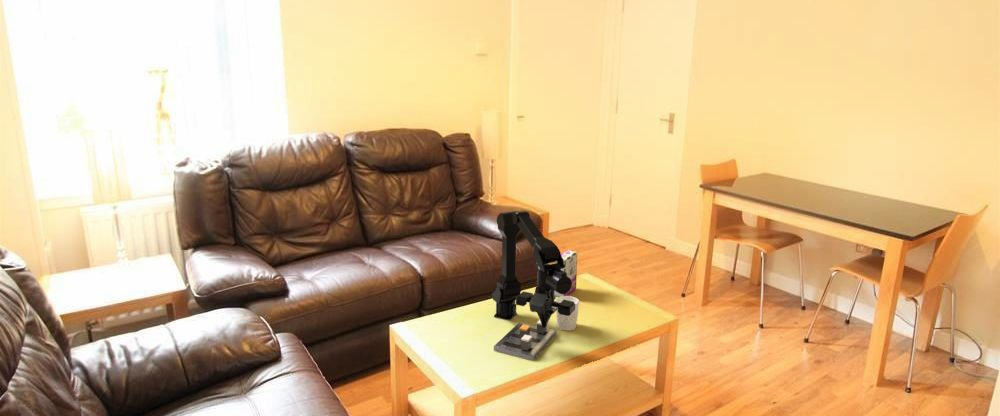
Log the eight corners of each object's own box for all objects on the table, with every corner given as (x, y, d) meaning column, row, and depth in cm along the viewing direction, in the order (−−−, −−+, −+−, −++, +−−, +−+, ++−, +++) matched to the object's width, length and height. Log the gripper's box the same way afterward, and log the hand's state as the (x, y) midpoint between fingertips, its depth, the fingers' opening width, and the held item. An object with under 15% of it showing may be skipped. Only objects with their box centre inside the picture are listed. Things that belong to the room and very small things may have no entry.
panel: (493, 350, 196) (493, 346, 196) (519, 326, 213) (519, 321, 213) (533, 360, 190) (533, 356, 190) (556, 334, 207) (556, 330, 207)
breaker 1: (519, 337, 201) (519, 328, 200) (523, 334, 203) (523, 324, 202) (526, 339, 200) (526, 329, 199) (529, 335, 202) (530, 325, 201)
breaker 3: (536, 332, 205) (536, 322, 204) (540, 328, 207) (540, 318, 207) (543, 333, 204) (543, 324, 203) (546, 330, 206) (547, 320, 205)
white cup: (576, 332, 209) (578, 306, 206) (554, 330, 211) (555, 303, 208) (578, 322, 216) (579, 297, 214) (556, 320, 218) (557, 294, 215)
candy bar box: (565, 287, 248) (567, 249, 244) (576, 289, 246) (578, 251, 242) (552, 296, 239) (554, 257, 235) (564, 299, 237) (565, 259, 232)
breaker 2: (520, 348, 193) (521, 338, 193) (524, 344, 196) (525, 334, 195) (527, 350, 192) (528, 340, 191) (531, 346, 195) (532, 336, 194)
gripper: (508, 286, 190) (507, 331, 194) (564, 297, 182) (562, 344, 186) (523, 274, 200) (522, 317, 204) (576, 284, 192) (574, 329, 196)
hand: (544, 327), depth 197 cm, fingers closed
